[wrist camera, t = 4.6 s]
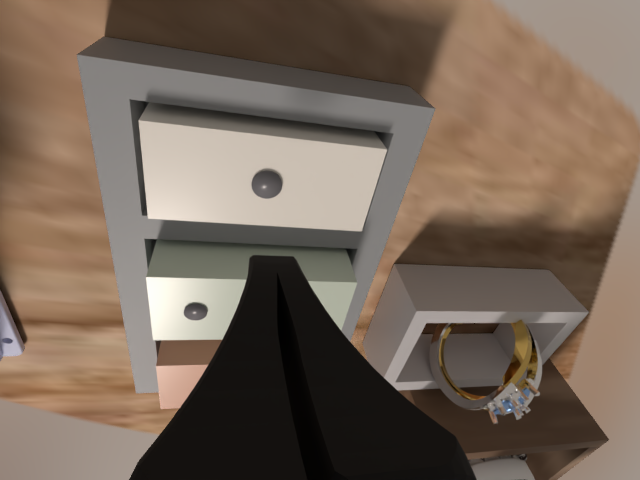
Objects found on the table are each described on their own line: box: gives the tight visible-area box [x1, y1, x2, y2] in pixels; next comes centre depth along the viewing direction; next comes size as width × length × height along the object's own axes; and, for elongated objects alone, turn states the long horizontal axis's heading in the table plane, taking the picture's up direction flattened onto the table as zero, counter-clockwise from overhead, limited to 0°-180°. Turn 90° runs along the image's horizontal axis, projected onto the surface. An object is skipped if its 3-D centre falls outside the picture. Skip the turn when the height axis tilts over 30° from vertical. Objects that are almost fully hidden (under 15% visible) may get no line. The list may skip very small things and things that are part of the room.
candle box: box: [398, 358, 609, 480], centre depth 33 cm, size 14×14×8 cm
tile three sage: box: [146, 239, 357, 340], centre depth 19 cm, size 4×9×3 cm, turn 79°
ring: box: [430, 320, 542, 424], centre depth 25 cm, size 7×3×8 cm, turn 134°
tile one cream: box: [139, 102, 387, 231], centre depth 16 cm, size 4×9×3 cm, turn 79°
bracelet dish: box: [363, 264, 589, 390], centre depth 26 cm, size 8×12×4 cm, turn 79°
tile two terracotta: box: [156, 340, 222, 409], centre depth 22 cm, size 4×9×3 cm, turn 79°
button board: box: [77, 37, 435, 393], centre depth 20 cm, size 19×13×3 cm, turn 169°
